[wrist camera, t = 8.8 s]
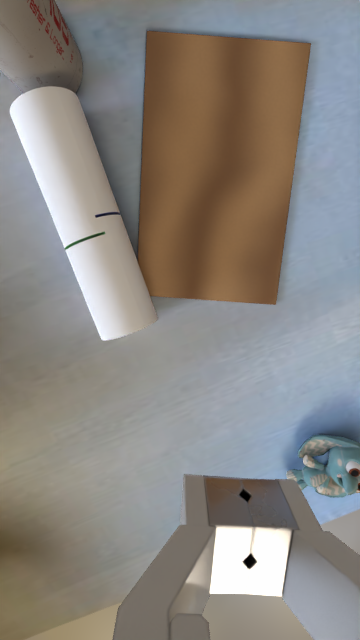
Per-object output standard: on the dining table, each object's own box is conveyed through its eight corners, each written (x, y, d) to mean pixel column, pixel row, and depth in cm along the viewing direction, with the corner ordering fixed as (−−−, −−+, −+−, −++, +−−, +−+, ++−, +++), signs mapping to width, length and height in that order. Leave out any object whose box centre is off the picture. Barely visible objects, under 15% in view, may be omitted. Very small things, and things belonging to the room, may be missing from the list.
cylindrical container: (169, 315, 36) (89, 88, 32) (118, 340, 32) (17, 83, 27) (138, 318, 42) (67, 126, 37) (92, 340, 38) (4, 127, 33)
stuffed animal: (277, 474, 39) (377, 447, 36) (271, 438, 46) (354, 412, 42) (310, 537, 41) (407, 517, 37) (299, 493, 48) (381, 473, 44)
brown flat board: (136, 294, 40) (136, 295, 39) (147, 33, 34) (146, 30, 33) (275, 304, 40) (275, 304, 40) (309, 45, 34) (311, 43, 34)
